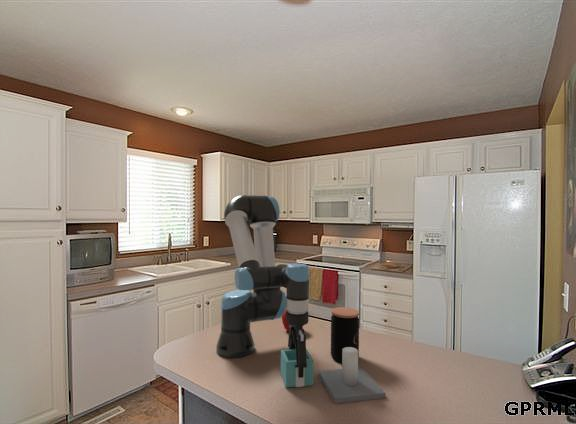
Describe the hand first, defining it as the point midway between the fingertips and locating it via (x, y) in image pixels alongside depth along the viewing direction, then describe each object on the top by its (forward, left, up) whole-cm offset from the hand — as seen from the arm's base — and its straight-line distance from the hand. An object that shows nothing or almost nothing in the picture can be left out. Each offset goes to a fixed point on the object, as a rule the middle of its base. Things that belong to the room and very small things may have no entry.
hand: (296, 378), depth 104 cm
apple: (-43, +8, -1) cm, 44 cm away
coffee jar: (-12, +22, -1) cm, 25 cm away
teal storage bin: (0, 0, 0) cm, 0 cm away
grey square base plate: (+7, +16, 0) cm, 18 cm away
